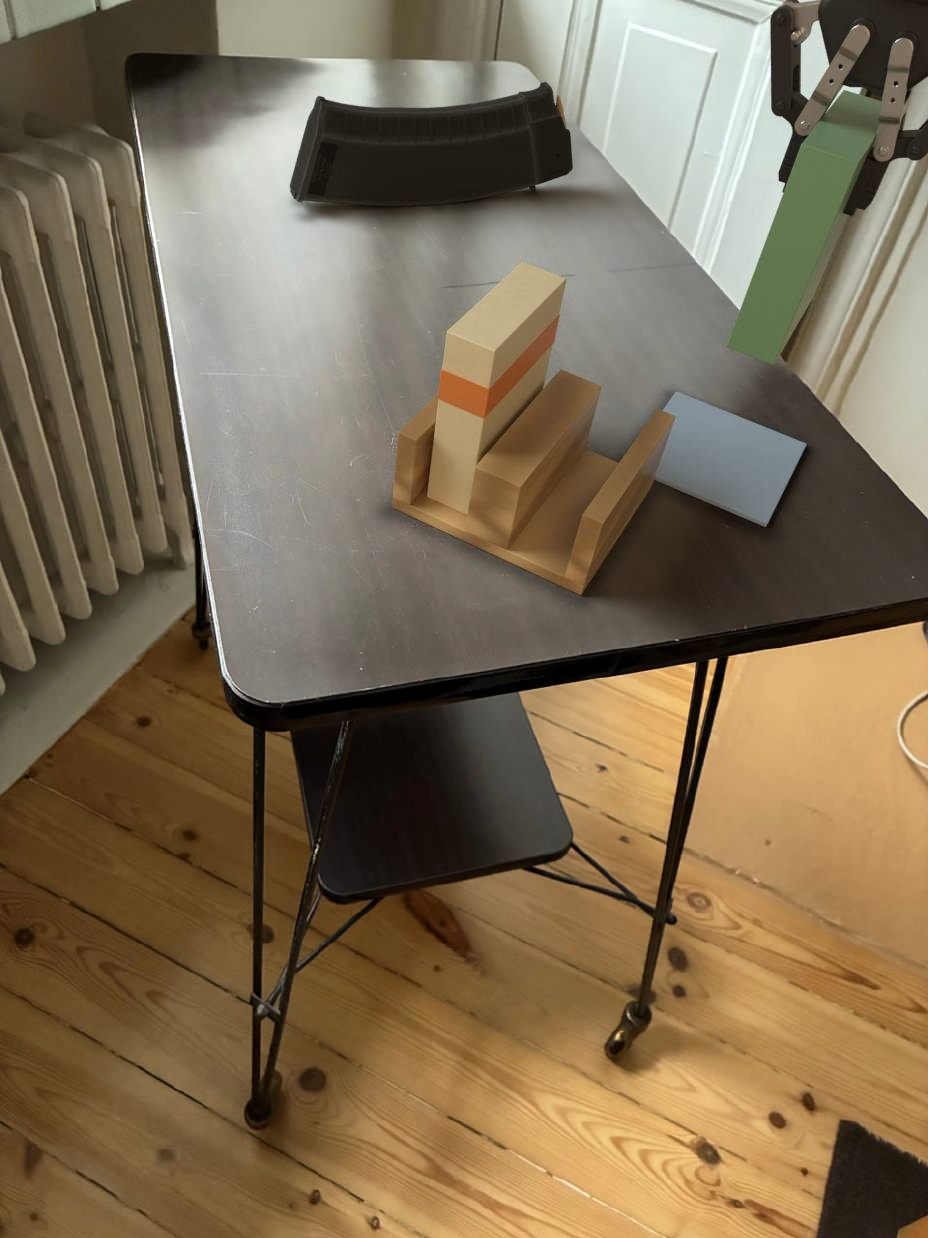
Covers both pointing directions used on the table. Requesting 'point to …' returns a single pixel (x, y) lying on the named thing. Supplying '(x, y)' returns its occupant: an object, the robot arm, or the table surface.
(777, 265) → the green book
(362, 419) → the table surface
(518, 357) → the cream book
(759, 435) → the felt pad
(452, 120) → the magazine
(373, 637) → the table surface
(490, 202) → the table surface
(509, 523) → the book rack
